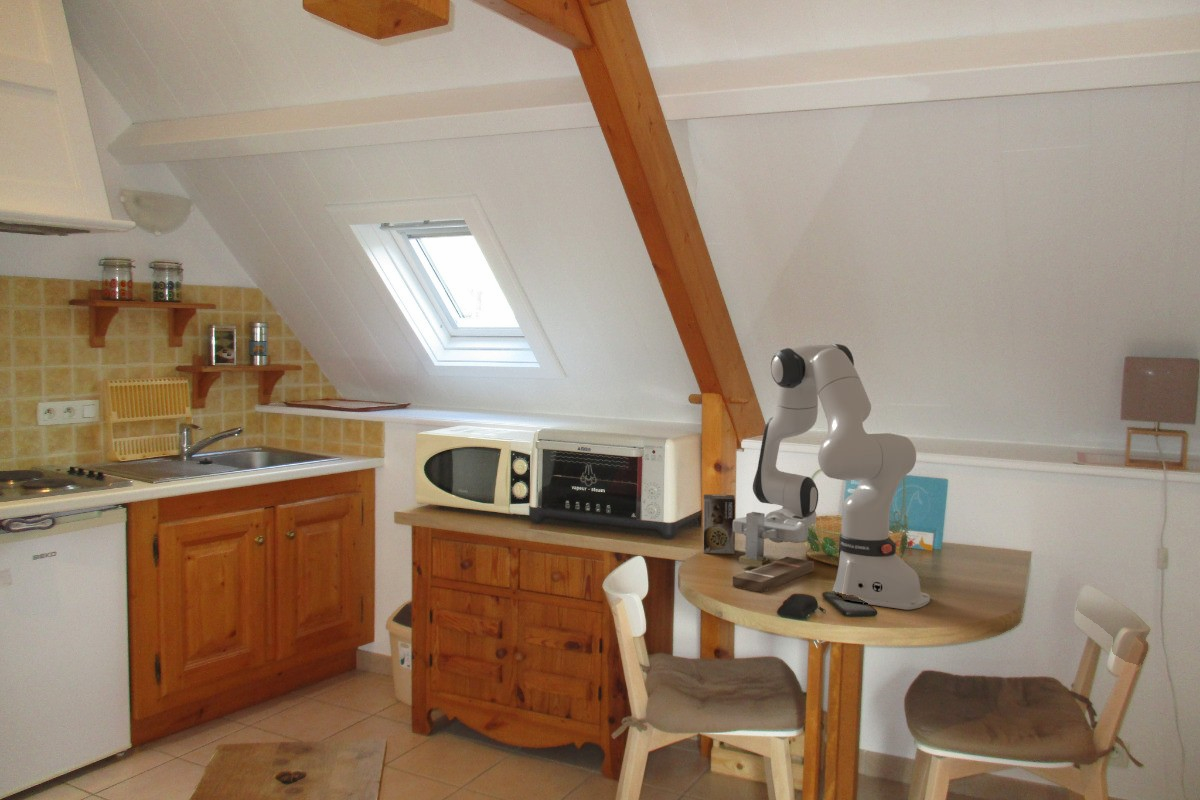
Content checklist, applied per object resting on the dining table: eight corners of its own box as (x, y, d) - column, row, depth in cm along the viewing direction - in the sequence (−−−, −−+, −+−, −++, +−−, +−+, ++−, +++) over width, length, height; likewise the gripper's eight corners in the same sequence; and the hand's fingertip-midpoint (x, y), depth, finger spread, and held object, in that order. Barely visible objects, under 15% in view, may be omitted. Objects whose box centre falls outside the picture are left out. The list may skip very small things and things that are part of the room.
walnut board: (813, 570, 248) (813, 561, 248) (761, 592, 226) (761, 581, 226) (786, 565, 253) (786, 556, 253) (732, 586, 232) (732, 575, 231)
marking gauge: (769, 564, 249) (770, 514, 248) (762, 567, 246) (763, 516, 245) (746, 559, 253) (747, 510, 252) (739, 562, 250) (740, 512, 249)
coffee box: (733, 549, 272) (735, 494, 271) (734, 554, 266) (736, 498, 264) (702, 548, 273) (703, 493, 272) (702, 553, 266) (703, 497, 265)
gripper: (747, 509, 266) (721, 517, 255) (812, 519, 253) (788, 527, 242) (746, 531, 266) (720, 539, 255) (812, 542, 253) (787, 551, 243)
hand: (754, 534), depth 249 cm, fingers closed on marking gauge, 3 cm apart
